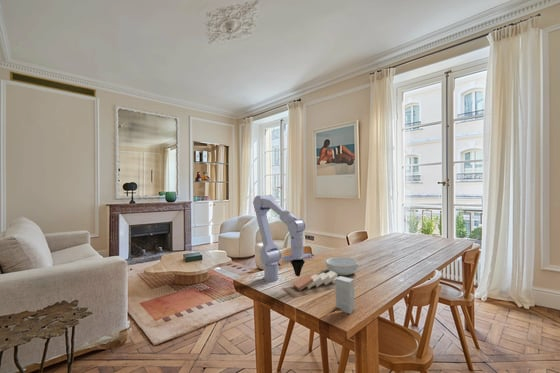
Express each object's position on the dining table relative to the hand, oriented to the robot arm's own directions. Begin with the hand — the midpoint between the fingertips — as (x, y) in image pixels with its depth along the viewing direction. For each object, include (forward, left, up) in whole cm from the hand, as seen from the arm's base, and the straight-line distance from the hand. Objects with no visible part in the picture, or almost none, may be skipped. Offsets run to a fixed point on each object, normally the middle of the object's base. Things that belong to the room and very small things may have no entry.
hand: (297, 275), depth 116 cm
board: (0, +7, -7) cm, 10 cm away
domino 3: (-3, +13, -5) cm, 14 cm away
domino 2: (-2, +8, -5) cm, 10 cm away
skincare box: (+21, +14, -7) cm, 26 cm away
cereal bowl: (-17, +29, -7) cm, 34 cm away
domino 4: (-5, +17, -5) cm, 18 cm away
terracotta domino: (0, -1, -5) cm, 5 cm away
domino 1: (-1, +4, -5) cm, 7 cm away
